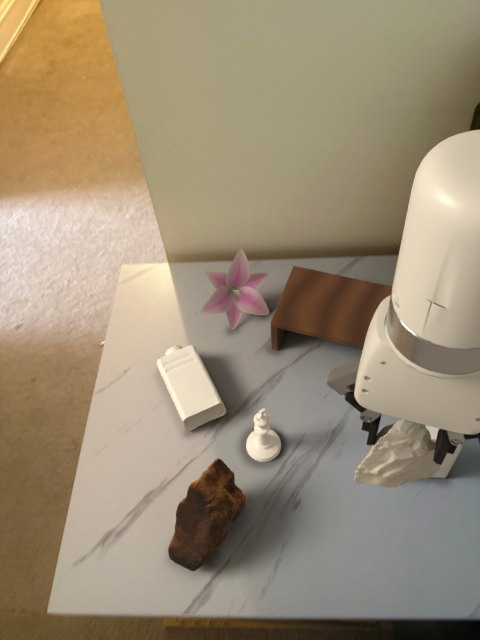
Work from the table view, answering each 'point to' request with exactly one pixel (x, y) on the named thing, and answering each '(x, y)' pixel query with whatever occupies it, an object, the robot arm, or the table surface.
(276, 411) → the table surface
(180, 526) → the decorative rock
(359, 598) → the table surface
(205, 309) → the lily
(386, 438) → the stone tool
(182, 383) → the white bottle
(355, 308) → the shelf
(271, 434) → the chess piece
